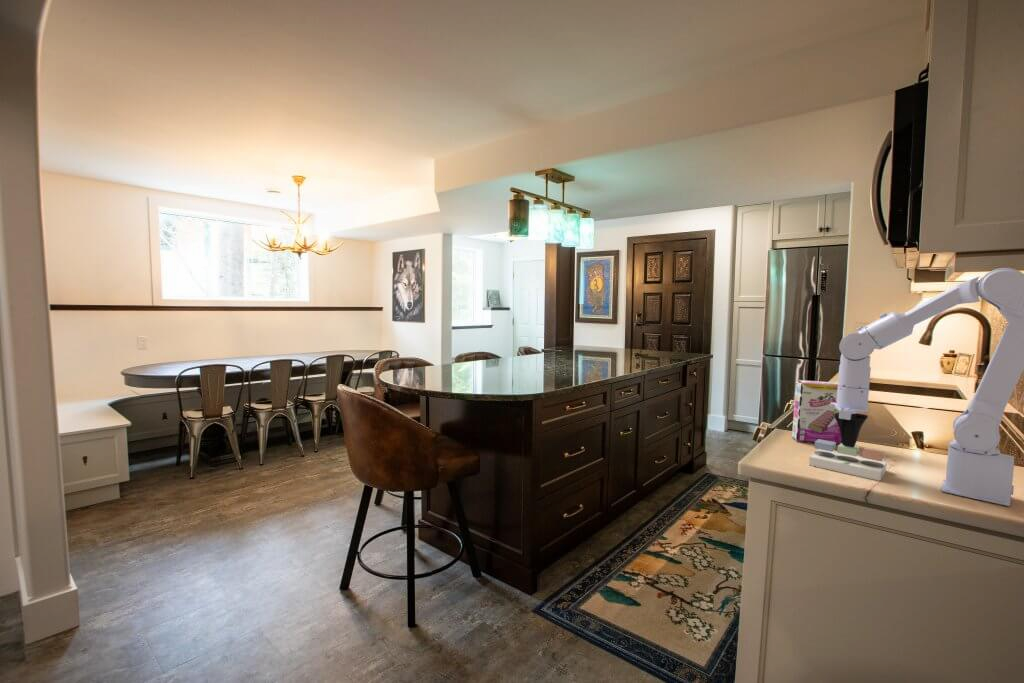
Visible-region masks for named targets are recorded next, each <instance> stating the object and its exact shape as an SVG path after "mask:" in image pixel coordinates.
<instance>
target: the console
mask: <svg viewBox="0 0 1024 683" xmlns="http://www.w3.org/2000/svg"><path fill="white" fill-rule="evenodd" d="M808 458H809V459H808V466H810V465H811V466H812V467H815V466H816V468H821V469H825V470H829V471H833V472H838V473H843V474H845V475H851V476H856V477H861V478H865V479H870V480H873V481H879V482H880V481H881V479H882V478H883V476H884V475H885V473H886V472H887V465H888V462H887V461H884V460H882V462H881V461H876V460H871V459H866V458H862V456H859V455H857V456H851V455H846V454H841V453H837V451H835V450H833V451H832V452H831V451H826V450H821V449H817V450H816V451H814V453H812V454H811V455H810V456H809V457H808ZM811 466H810V467H811Z"/></svg>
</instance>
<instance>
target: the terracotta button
mask: <svg viewBox="0 0 1024 683" xmlns="http://www.w3.org/2000/svg"><path fill="white" fill-rule="evenodd" d="M885 453H886V451H885V450H879V449H874V448H870V447H864V448H863V449H862V451H861V457H862V458H866V459H871V460H876V461H881V462H882V461H884V459H885Z"/></svg>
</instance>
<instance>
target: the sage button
mask: <svg viewBox="0 0 1024 683" xmlns="http://www.w3.org/2000/svg"><path fill="white" fill-rule="evenodd" d="M860 448H861V447H860V446H857V445H855V446H854V447H850V446H845V445H843V444H842V443H841V444H840V445H837V450H836V452H837V453H841V454H846V455H851V456H859V454H860Z"/></svg>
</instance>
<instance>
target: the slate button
mask: <svg viewBox="0 0 1024 683" xmlns="http://www.w3.org/2000/svg"><path fill="white" fill-rule="evenodd" d="M836 446H837V445H836V442H832V441H826V440H821V439H818V440H817V441H815V443H814V449H817V450H818V449H821V450H826V451H831V452H832V451H835V449H836Z"/></svg>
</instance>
